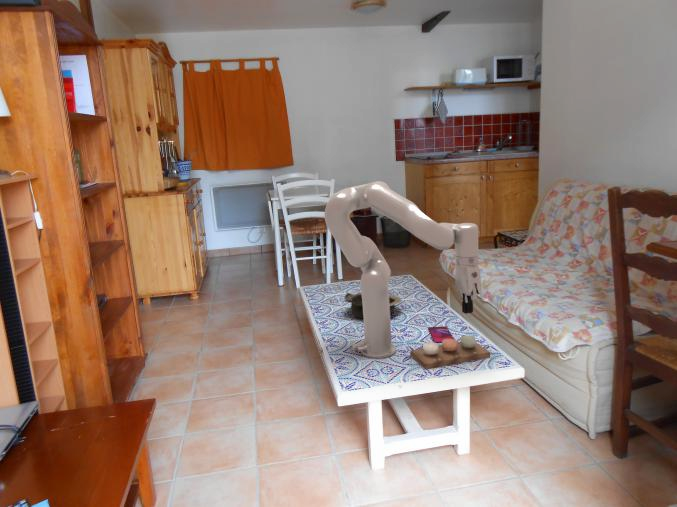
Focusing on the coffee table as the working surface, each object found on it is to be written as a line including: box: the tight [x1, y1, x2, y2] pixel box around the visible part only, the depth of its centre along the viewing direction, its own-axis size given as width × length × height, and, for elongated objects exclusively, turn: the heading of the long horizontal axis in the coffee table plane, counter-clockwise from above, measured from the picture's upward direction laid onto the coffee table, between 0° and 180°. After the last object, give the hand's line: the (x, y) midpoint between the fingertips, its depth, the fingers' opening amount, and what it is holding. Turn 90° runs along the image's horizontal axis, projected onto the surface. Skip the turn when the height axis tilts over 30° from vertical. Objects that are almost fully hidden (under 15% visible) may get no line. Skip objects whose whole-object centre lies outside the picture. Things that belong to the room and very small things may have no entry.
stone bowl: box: [343, 292, 403, 319], centre depth 222 cm, size 25×25×9 cm
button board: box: [410, 341, 491, 371], centre depth 174 cm, size 24×12×2 cm, turn 105°
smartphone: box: [427, 325, 454, 344], centre depth 194 cm, size 8×1×15 cm
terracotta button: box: [441, 338, 458, 351], centre depth 173 cm, size 5×5×2 cm
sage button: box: [459, 335, 476, 348], centre depth 175 cm, size 5×5×2 cm
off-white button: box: [422, 341, 439, 355], centre depth 172 cm, size 5×5×2 cm
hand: (467, 312), depth 173 cm, fingers closed
